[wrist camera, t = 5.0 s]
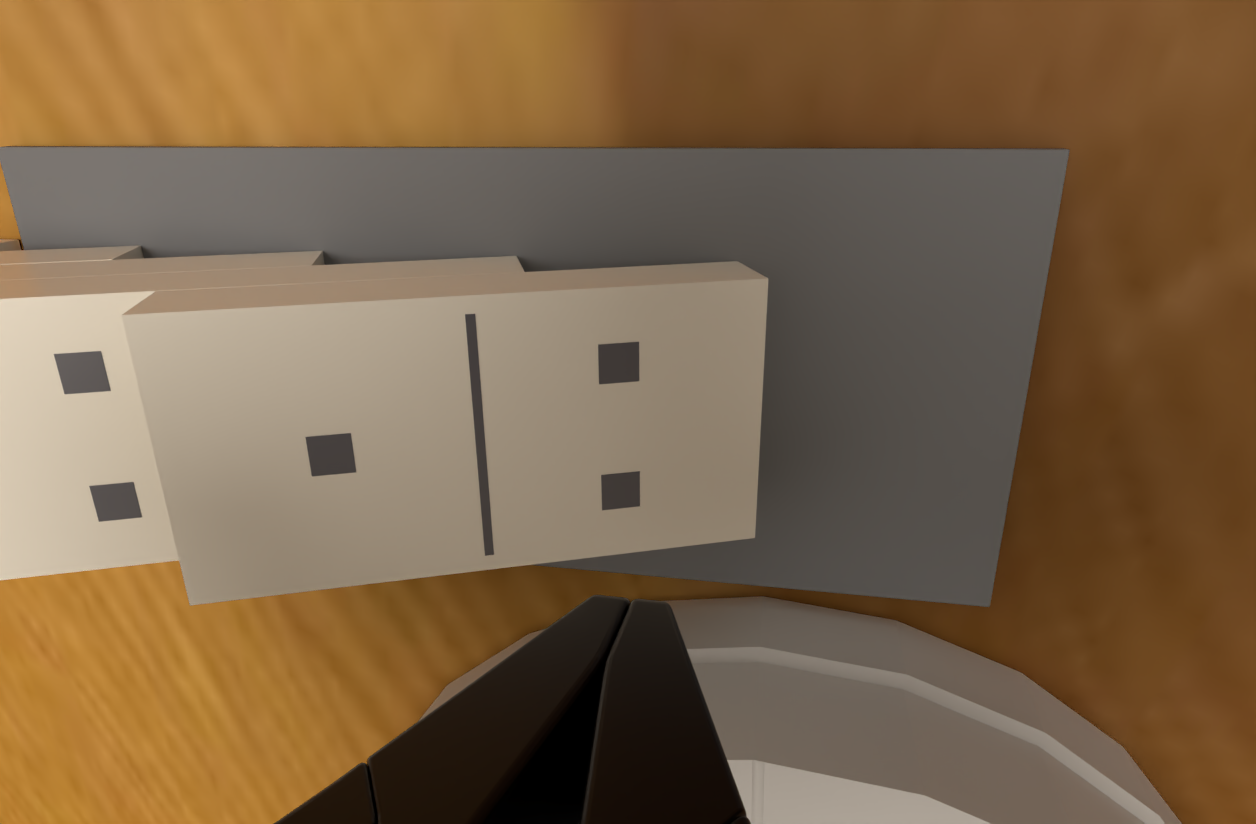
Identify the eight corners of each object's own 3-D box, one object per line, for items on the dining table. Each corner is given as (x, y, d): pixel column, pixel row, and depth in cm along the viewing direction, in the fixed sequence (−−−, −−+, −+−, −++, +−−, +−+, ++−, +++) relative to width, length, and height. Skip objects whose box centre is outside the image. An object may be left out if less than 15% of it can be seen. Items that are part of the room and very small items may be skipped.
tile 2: (524, 272, 15) (-124, 305, 13) (538, 520, 17) (-30, 583, 15) (516, 255, 16) (-67, 283, 14) (529, 485, 18) (13, 538, 16)
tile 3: (311, 265, 15) (-331, 296, 14) (346, 504, 17) (-217, 561, 15) (322, 250, 17) (-256, 276, 15) (353, 472, 19) (-159, 519, 17)
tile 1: (768, 278, 14) (121, 315, 12) (754, 538, 16) (189, 605, 14) (737, 261, 16) (155, 291, 14) (727, 500, 17) (213, 556, 15)
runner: (1063, 148, 14) (1069, 149, 14) (986, 598, 17) (989, 607, 17) (8, 146, 18) (-4, 147, 17) (107, 519, 21) (98, 525, 21)
